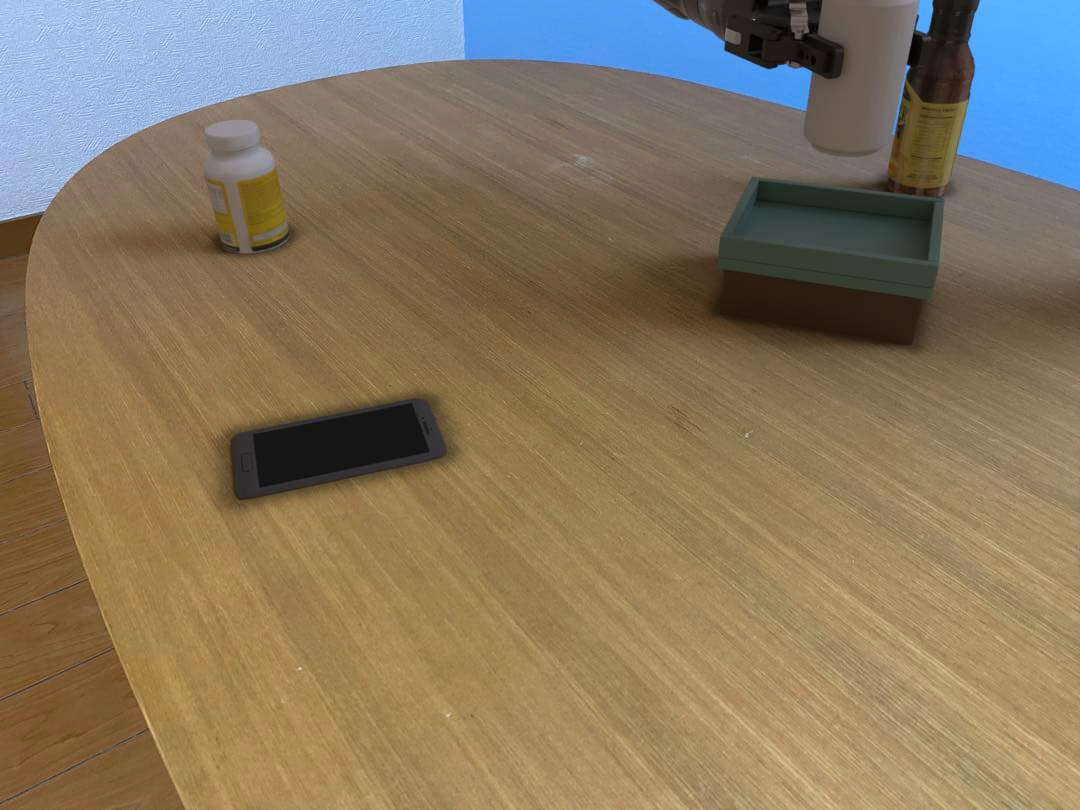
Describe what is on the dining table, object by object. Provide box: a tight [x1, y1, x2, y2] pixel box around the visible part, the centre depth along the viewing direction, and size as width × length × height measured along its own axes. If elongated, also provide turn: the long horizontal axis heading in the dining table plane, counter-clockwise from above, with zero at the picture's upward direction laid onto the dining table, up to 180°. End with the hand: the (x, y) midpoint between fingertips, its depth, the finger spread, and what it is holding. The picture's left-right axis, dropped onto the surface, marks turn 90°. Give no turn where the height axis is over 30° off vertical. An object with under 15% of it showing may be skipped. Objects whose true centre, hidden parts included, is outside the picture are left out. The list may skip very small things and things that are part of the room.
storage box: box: [716, 176, 946, 346], centre depth 77 cm, size 16×13×8 cm
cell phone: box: [230, 397, 448, 501], centre depth 64 cm, size 7×14×1 cm, turn 108°
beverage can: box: [802, 0, 921, 158], centre depth 67 cm, size 6×6×12 cm
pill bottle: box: [202, 119, 290, 254], centre depth 88 cm, size 6×6×12 cm
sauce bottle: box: [886, 0, 981, 198], centre depth 93 cm, size 7×6×20 cm
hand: (882, 58), depth 65 cm, fingers closed on beverage can, 6 cm apart
